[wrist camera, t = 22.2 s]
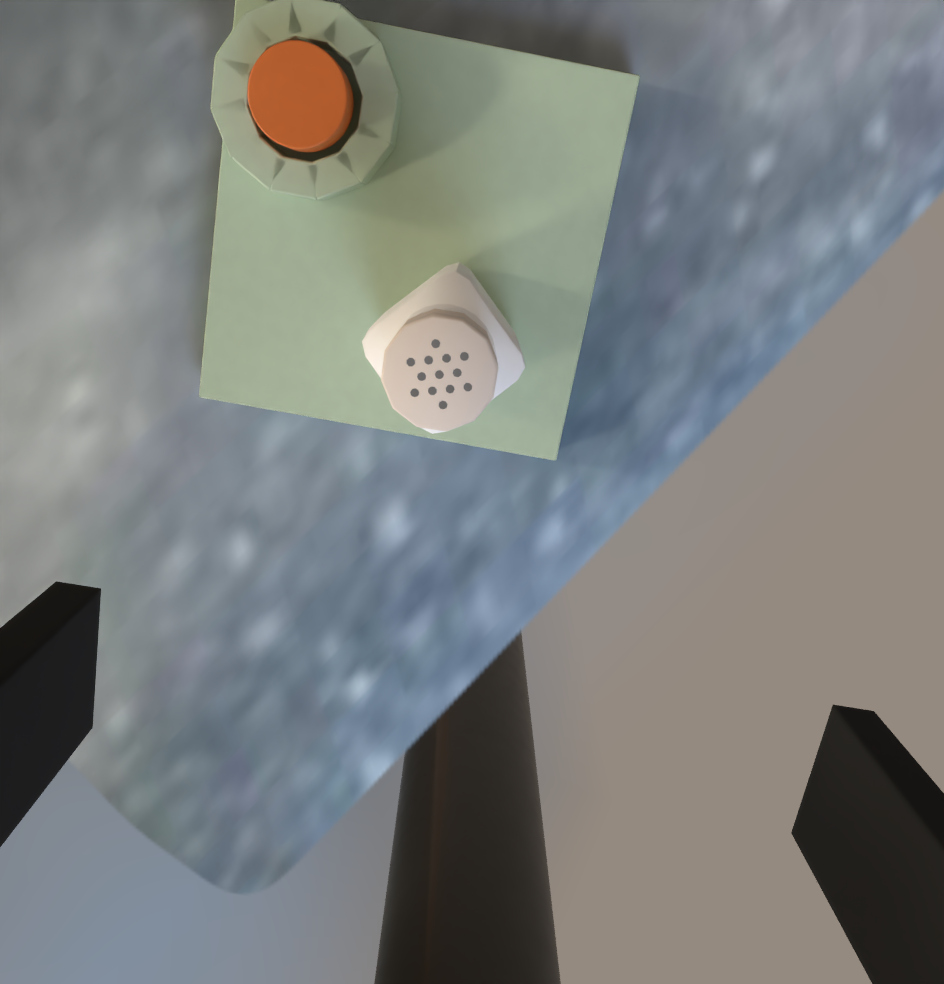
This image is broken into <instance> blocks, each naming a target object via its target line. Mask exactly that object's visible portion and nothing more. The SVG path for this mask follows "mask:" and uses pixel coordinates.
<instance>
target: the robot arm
mask: <svg viewBox="0 0 944 984" xmlns="http://www.w3.org/2000/svg"><path fill="white" fill-rule="evenodd" d="M100 596H101V589H100V588H94V587H88V586H81V585H75V584H69V583H62V582H55V583H54V584H53V585H52V586H50V587H49V588H48V589H47V590H46V591H44V592H43V593H42V594H41V595H40V596H38V597H37V598H36V599H35V600H33V601H32V602H31V603H30V604H29V605H27V606H26V607H25V608H24V609H23V610H21V611H20V612H19V613H18V614H17V615H15V616H14V617H13V618H12V619H11V620H9V621H8V622H7V623H6V624H5V625H3V626H2V627H1V628H0V847H1V846H2V844H3V843H4V842H5V840H6V839H7V838H8V837H9V835H10V834H11V833H12V831H13V830H14V829H15V827H16V826H17V825H18V824H19V822H20V821H21V820H22V818H23V817H24V816H25V814H26V813H27V812H28V811H29V809H30V808H31V807H32V805H33V804H34V803H35V802H36V800H37V799H38V798H39V796H40V795H41V794H42V792H43V791H44V790H45V788H46V787H47V786H48V785H49V783H50V782H51V781H52V779H53V778H54V777H55V776H56V774H57V773H58V772H59V770H60V769H61V768H62V766H63V765H64V764H65V763H66V761H67V760H68V759H69V757H70V756H71V755H72V753H73V752H74V751H75V750H76V748H77V747H78V746H79V744H80V743H81V742H82V741H83V739H84V738H85V737H86V735H87V734H88V733H89V731H90V730H91V729H92V727H93V710H94V694H95V678H96V661H97V645H98V628H99V612H100ZM792 835H793V837H794V839H795V841H796V843H797V844H798V846H799V848H800V850H801V852H802V854H803V856H804V857H805V859H806V861H807V863H808V865H809V867H810V869H811V870H812V872H813V874H814V876H815V878H816V880H817V881H818V883H819V885H820V887H821V889H822V891H823V893H824V895H825V897H826V898H827V900H828V902H829V904H830V906H831V908H832V910H833V911H834V913H835V915H836V917H837V919H838V921H839V922H840V924H841V926H842V928H843V930H844V932H845V933H846V936H847V937H848V939H849V941H850V943H851V945H852V947H853V949H854V950H855V952H856V954H857V956H858V958H859V960H860V962H861V963H862V965H863V967H864V969H865V971H866V973H867V974H868V976H869V978H870V980H871V982H872V984H944V793H943V792H942V791H941V790H940V789H939V787H938V786H937V785H936V784H935V783H934V781H933V780H932V779H931V778H930V777H929V776H928V774H927V773H926V772H925V771H924V770H923V769H922V767H921V766H920V765H919V764H918V763H917V762H916V760H915V759H914V758H913V757H912V756H911V755H910V753H909V752H908V751H907V750H906V748H905V747H904V746H903V745H902V744H901V743H900V742H899V740H898V739H897V738H896V737H895V736H894V734H893V733H892V732H891V731H890V730H889V729H888V728H887V726H886V725H885V724H884V723H883V721H882V720H881V719H880V718H879V717H878V716H877V714H875V712H874V711H869V710H863V709H857V708H850V707H844V706H837V705H833V706H832V709H831V712H830V715H829V719H828V722H827V725H826V728H825V731H824V734H823V737H822V741H821V743H820V746H819V750H818V752H817V755H816V759H815V762H814V765H813V768H812V771H811V774H810V777H809V780H808V783H807V786H806V789H805V792H804V796H803V799H802V802H801V805H800V808H799V811H798V814H797V817H796V820H795V823H794V826H793V829H792Z"/></svg>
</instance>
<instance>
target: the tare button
mask: <svg viewBox="0 0 944 984" xmlns="http://www.w3.org/2000/svg"><path fill="white" fill-rule="evenodd" d="M247 94H248V102H249V107H250V110H251V113H252V115H253V118H254V120H255V122H256V123H257V125H258V126H259V128H260V129H261V130H262V131H263V132H264V133H265V134H266V135H267V136H268V137H269V138H270V139H272V140H273V141H275V142H276V143H278V144H280V145H282V146H285V147H287V148H290V149H293V150H296V151H299V152H317V151H321V150H324V149H326V148H328V147H330V146H332V145H333V144H335V143H336V142H337V141H338V140H339V139H340V138H341V137H342V136H343V135H344V133H345V132H346V130H347V128H348V126H349V124H350V122H351V119H352V114H353V107H354V99H353V92H352V88H351V84H350V82H349V80H348V77H347V76H346V74H345V72H344V71H343V69H342V68H341V67H340V65H339V64H338V63H337V62H336V61H335V60H334V59H333V58H332V57H331V56H330V55H329V54H328V53H327V52H326V51H325V50H323V49H322V48H320V47H319V46H317V45H315V44H312V43H310V42H306V41H301V40H288V41H283V42H280V43H277V44H275V45H273V46H271V47H270V48H268V49H267V50H266V51H265V52H264V53H263V54H261V56H260V57H259V58H258V59H257V61H256V62H255V64H254V66H253V68H252V70H251V73H250V76H249V81H248V91H247Z"/></svg>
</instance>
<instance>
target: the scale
mask: <svg viewBox="0 0 944 984" xmlns="http://www.w3.org/2000/svg"><path fill="white" fill-rule="evenodd" d="M288 40H301V41H306V42H310V43H312V44H315V45H317V46H319V47H320V48H322V49H323V50H325V51H326V52H327V53H328V54H329V55H330V56H331V57H332V58H333V59H334V60H335V61H336V62H337V63H338V64H339V65H340V67H341V68H342V69H343V71H344V72H345V74H346V76H347V77H348V80H349V82H350V84H351V88H352V92H353V99H354V107H353V114H352V119H351V122H350V124H349V126H348V128H347V130H346V132H345V133H344V135H343V136H342V137H341V138H340V139H339V140H338V141H337V142H336V143H335V144H333V145H332V146H330V147H328V148H326V149H324V150H321V151H317V152H299V151H296V150H293V149H290V148H287V147H285V146H282V145H280V144H278V143H276V142H275V141H273V140H272V139H270V138H269V137H268V136H267V135H266V134H265V133H264V132H263V131H262V130H261V129H260V128H259V126H258V125H257V123H256V122H255V120H254V118H253V115H252V113H251V110H250V107H249V102H248V94H247V91H248V81H249V76H250V73H251V70H252V68H253V66H254V64H255V62H256V61H257V59H258V58H259V57H260V56H261V54H263V53H264V52H265V51H266V50H267V49H268V48H270V47H271V46H273V45H275V44H277V43H280V42H283V41H288ZM639 79H640V76H639V75H635V74H630V73H625V72H620V71H615V70H610V69H605V68H600V67H595V66H590V65H585V64H581V63H576V62H571V61H566V60H561V59H556V58H551V57H546V56H541V55H536V54H531V53H526V52H521V51H516V50H511V49H506V48H501V47H496V46H491V45H486V44H481V43H476V42H471V41H467V40H462V39H457V38H452V37H447V36H442V35H437V34H432V33H427V32H422V31H417V30H412V29H407V28H402V27H397V26H392V25H387V24H382V23H377V22H372V21H367V20H362V19H357V18H356V17H355V16H354V15H353V14H352V13H351V12H350V11H349V10H347V9H346V8H345V7H344V6H342V5H341V4H340V3H335V2H330V1H325V0H275V1H268V0H235V11H234V22H233V30H232V32H231V33H230V35H229V36H228V37H227V39H226V40H225V42H224V43H223V45H222V46H221V48H220V49H219V50H218V52H217V53H216V56H215V62H214V73H213V84H212V96H211V112H212V114H213V116H214V119H215V121H216V124H217V126H218V129H219V131H220V134H221V136H222V138H223V141H222V152H221V163H220V174H219V185H218V196H217V207H216V218H215V229H214V239H213V250H212V261H211V272H210V283H209V294H208V305H207V316H206V327H205V337H204V348H203V359H202V370H201V381H200V392H199V397H202V398H207V399H213V400H218V401H224V402H230V403H235V404H241V405H247V406H252V407H258V408H263V409H269V410H275V411H280V412H286V413H291V414H297V415H303V416H308V417H314V418H319V419H325V420H331V421H336V422H342V423H347V424H353V425H359V426H364V427H370V428H375V429H381V430H387V431H392V432H398V433H403V434H409V435H415V436H420V437H426V438H431V439H437V440H443V441H448V442H454V443H460V444H465V445H471V446H476V447H482V448H488V449H493V450H499V451H504V452H510V453H516V454H521V455H527V456H532V457H538V458H544V459H549V460H556V459H557V454H558V450H559V445H560V441H561V436H562V431H563V427H564V422H565V418H566V413H567V409H568V404H569V399H570V395H571V390H572V386H573V381H574V377H575V372H576V367H577V363H578V358H579V354H580V349H581V345H582V340H583V335H584V331H585V326H586V322H587V317H588V313H589V308H590V303H591V299H592V294H593V290H594V285H595V281H596V276H597V271H598V267H599V262H600V258H601V253H602V249H603V244H604V239H605V235H606V230H607V226H608V221H609V217H610V212H611V207H612V203H613V198H614V194H615V189H616V185H617V180H618V175H619V171H620V166H621V162H622V157H623V153H624V148H625V143H626V139H627V134H628V130H629V125H630V121H631V116H632V111H633V107H634V102H635V98H636V93H637V89H638V84H639ZM458 262H460V263H461V264H463V265H464V266H466V267H468V268H469V269H470V270H471V271H472V273H473V274H474V275H475V277H476V278H477V280H478V281H479V282H480V284H481V285H482V287H483V288H484V289H485V291H486V292H487V294H488V295H489V296H490V298H491V299H492V301H493V302H494V304H495V305H496V306H497V308H498V309H499V311H500V312H501V313H502V315H503V316H504V318H505V319H506V320H507V322H508V323H509V325H510V326H511V328H512V329H513V330H514V332H515V334H516V337H517V339H518V342H519V345H520V348H521V351H522V353H523V358H524V363H525V369H524V370H523V372H522V374H521V376H520V377H519V379H518V380H517V381H516V382H515V383H514V384H512V385H511V386H510V387H508V388H507V389H506V390H505V391H503V392H502V393H501V394H499V395H498V396H497V397H495V398H494V399H493V400H491V401H490V403H489V404H488V405H487V406H486V408H485V409H484V410H483V411H482V412H481V414H480V415H479V416H478V417H477V418H476V420H475V421H473V422H470V423H468V424H465V425H463V426H460V427H457V428H455V429H452V430H449V431H447V432H440V433H434V434H432V433H430V432H428V431H426V430H424V429H422V428H420V427H416V426H415V425H413V424H412V423H411V422H409V421H408V420H407V419H406V418H404V417H403V416H402V415H400V414H399V413H398V412H397V411H395V410H394V409H393V408H392V406H391V403H390V401H389V399H388V396H387V394H386V391H385V389H384V387H383V384H382V382H381V378H380V377H379V375H378V374H377V372H376V371H375V369H374V368H373V367H372V365H371V364H370V362H369V361H368V359H367V358H366V357H365V353H364V348H363V344H362V340H363V338H364V337H365V335H366V333H367V331H368V329H369V328H370V327H371V326H372V325H373V324H374V323H375V322H376V321H377V320H378V319H379V318H380V317H381V316H382V315H383V314H384V313H385V312H386V311H387V310H388V309H390V308H391V307H392V306H394V305H395V304H396V303H398V302H399V301H400V300H402V299H403V298H404V297H405V296H407V295H408V294H409V293H411V292H412V291H413V290H415V289H416V288H417V287H419V286H420V285H421V284H423V283H424V282H425V281H427V280H428V279H429V278H431V277H432V276H433V275H435V274H436V273H437V272H439V271H440V270H441V269H442V268H444V267H445V266H446V265H450V264H454V263H458Z"/></svg>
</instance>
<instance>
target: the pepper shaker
mask: <svg viewBox="0 0 944 984" xmlns="http://www.w3.org/2000/svg"><path fill="white" fill-rule="evenodd" d="M362 344H363V348H364V353H365V357H366V358H367V359H368V361H369V362H370V364H371V365H372V367H373V368H374V369H375V371H376V372H377V374H378V375H379V377H380V378H381V382H382V384H383V387H384V389H385V391H386V394H387V396H388V399H389V401H390V403H391V406H392V408H393V409H394V410H395V411H397V412H398V413H399V414H400V415H402V416H403V417H404V418H406V419H407V420H408V421H409V422H411V423H412V424H413V425H415V426H416V427H420V428H422V429H424V430H426V431H428V432H430V433H432V434H434V433H440V432H447V431H449V430H452V429H455V428H457V427H460V426H463V425H465V424H468V423H470V422H473V421H475V420H476V418H477V417H478V416H479V415H480V414H481V412H482V411H483V410H484V409H485V408H486V406H487V405H488V404H489V403H490V401H491V400H493V399H494V398H495V397H497V396H498V395H499V394H501V393H502V392H503V391H505V390H506V389H507V388H508V387H510V386H511V385H512V384H514V383H515V382H516V381H517V380H518V379H519V377H520V376H521V374H522V372H523V370H524V369H525V363H524V358H523V353H522V351H521V348H520V345H519V342H518V339H517V337H516V334H515V332H514V330H513V329H512V328H511V326H510V325H509V323H508V322H507V320H506V319H505V318H504V316H503V315H502V313H501V312H500V311H499V309H498V308H497V306H496V305H495V304H494V302H493V301H492V299H491V298H490V296H489V295H488V294H487V292H486V291H485V289H484V288H483V287H482V285H481V284H480V282H479V281H478V280H477V278H476V277H475V275H474V274H473V273H472V271H471V270H470V269H469V268H468V267H466V266H464V265H463V264H461V263H460V262H458V263H454V264H450V265H446V266H445V267H444V268H442V269H441V270H440V271H439V272H437V273H436V274H435V275H433V276H432V277H431V278H429V279H428V280H427V281H425V282H424V283H423V284H421V285H420V286H419V287H417V288H416V289H415V290H413V291H412V292H411V293H409V294H408V295H407V296H405V297H404V298H403V299H402V300H400V301H399V302H398V303H396V304H395V305H394V306H392V307H391V308H390V309H388V310H387V311H386V312H385V313H384V314H383V315H382V316H381V317H380V318H379V319H378V320H377V321H376V322H375V323H374V324H373V325H372V326H371V327H370V328H369V329H368V331H367V333H366V335H365V337H364V338H363V340H362Z"/></svg>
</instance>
